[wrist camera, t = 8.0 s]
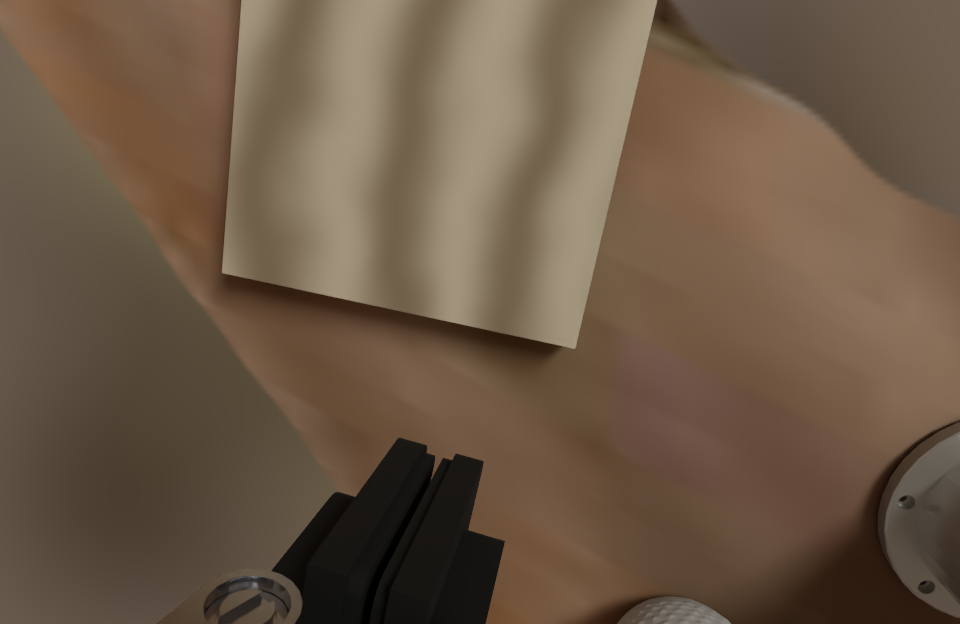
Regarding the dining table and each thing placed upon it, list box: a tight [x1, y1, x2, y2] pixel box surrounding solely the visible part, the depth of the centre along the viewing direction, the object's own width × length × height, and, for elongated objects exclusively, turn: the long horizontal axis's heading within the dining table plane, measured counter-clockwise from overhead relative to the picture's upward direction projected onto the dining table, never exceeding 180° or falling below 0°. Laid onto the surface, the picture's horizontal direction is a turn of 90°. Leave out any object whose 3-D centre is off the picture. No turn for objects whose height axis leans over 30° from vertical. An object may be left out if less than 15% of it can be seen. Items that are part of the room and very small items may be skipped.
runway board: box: [222, 0, 657, 349], centre depth 31 cm, size 20×30×2 cm, turn 169°
